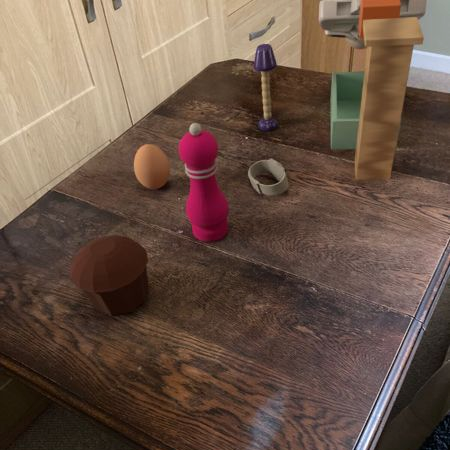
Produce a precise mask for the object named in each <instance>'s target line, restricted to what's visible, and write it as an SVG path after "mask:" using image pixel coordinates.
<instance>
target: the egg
mask: <svg viewBox="0 0 450 450" xmlns="http://www.w3.org/2000/svg"><path fill="white" fill-rule="evenodd" d="M133 171H134V174H135V177H136V179H137V180H138V182H139V183H140V184H141V185H142V186H143V187H145V188H146V189H149V190H158V189H161V188H162V187H164V186H165V185H166V183H168V181H169V178H170V176H171V164H170V162H169V159H168V157H167V155H166V154H165V153H164V151H163V150H162V149H161V148H160V147H159V146H157V145H156V144H152V143H146V144H143V145H142V146H140V147H139V148H138V149H137V151H136V153H135V156H134V160H133Z"/></svg>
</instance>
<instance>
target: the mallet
mask: <svg viewBox="0 0 450 450" xmlns="http://www.w3.org/2000/svg"><path fill="white" fill-rule="evenodd" d="M400 9H401V3H400V0H361V5H360V15H359V36H360V39H364V34H363V20H371V19H390V18H399V16H400Z"/></svg>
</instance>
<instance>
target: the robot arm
mask: <svg viewBox="0 0 450 450" xmlns="http://www.w3.org/2000/svg"><path fill="white" fill-rule="evenodd" d="M400 3H401V9H400V16H399V18H409V17H417V18H418V21H419V20H420V19H422V18H423V17H424V16H425V15H426V12H427V11H426V9H427V0H400ZM360 5H361V0H320V1H319V7H318V24H319V27H320V29H322V30H323V31H324V35H325V36H326V37H330V38H341V39H345V42H346V44H348V46H349V47H351V48H352V49H355V50H365V49H367V47H365V42H364V39H360V36H359V15H360Z"/></svg>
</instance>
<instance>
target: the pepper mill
mask: <svg viewBox="0 0 450 450" xmlns="http://www.w3.org/2000/svg"><path fill="white" fill-rule="evenodd" d="M178 155H179V158H180V160H181V162H183V163H184V169H185V174H186V175H187V177H189V180H190V181H189V182H190V189H189V193H188V197H187V200H186V207H185V211H186V217H187V219H188V221H189V222H190V223H191V229H192V233H193V234H192V235H193V236H194V237H195V238H196V239H198V240H199V241H202V242H205V243H206V242H208V243H211V242H215V241H218V240H219V241H220V240H221V239H222V238H224V237H225V236H226V235H227V234H228V232H229V221H228V217H229V213H230V206H229V202H228V200H227V197H226V195H225V194H224V193H223V191H222V190H221V188H220V187H219V185H218V181H217V177H216V173H217V172H218V164H217V163H218V161H217V157H218V155H219V145H218V141H217V139H216V137H215V136H214V135H213V134H212V133H211V132H208V131H207V130H204V129H202V126H201V124H200V123H198V122H193V123H191V124H190V126H189V131H188V132H187V133H186V134H184V135H183V136H182V137H181V138H180V141H179V143H178Z"/></svg>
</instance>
